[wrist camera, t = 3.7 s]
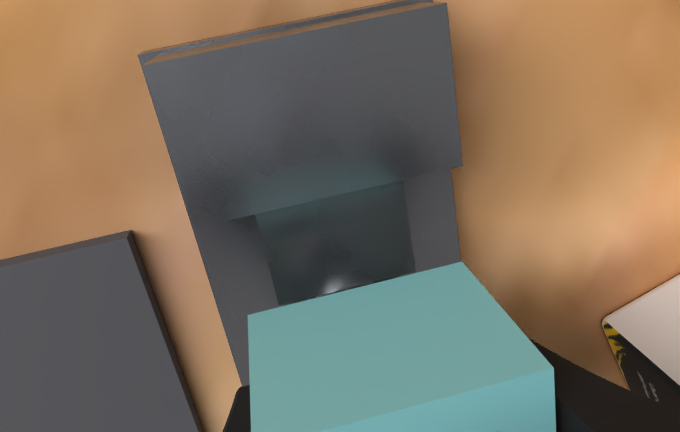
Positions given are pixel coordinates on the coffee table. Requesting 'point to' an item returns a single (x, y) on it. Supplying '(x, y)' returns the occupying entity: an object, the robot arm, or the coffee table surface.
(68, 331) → the mat
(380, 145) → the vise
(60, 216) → the coffee table surface
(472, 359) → the collar
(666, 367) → the medicine bottle
